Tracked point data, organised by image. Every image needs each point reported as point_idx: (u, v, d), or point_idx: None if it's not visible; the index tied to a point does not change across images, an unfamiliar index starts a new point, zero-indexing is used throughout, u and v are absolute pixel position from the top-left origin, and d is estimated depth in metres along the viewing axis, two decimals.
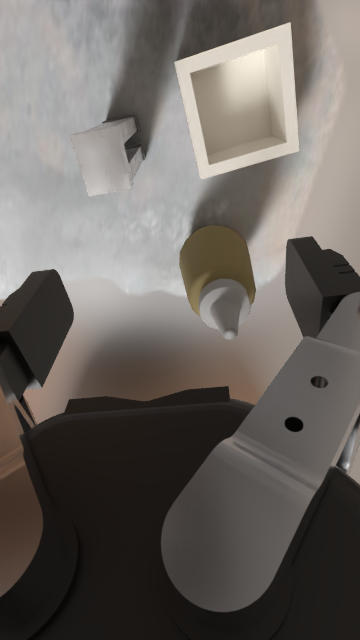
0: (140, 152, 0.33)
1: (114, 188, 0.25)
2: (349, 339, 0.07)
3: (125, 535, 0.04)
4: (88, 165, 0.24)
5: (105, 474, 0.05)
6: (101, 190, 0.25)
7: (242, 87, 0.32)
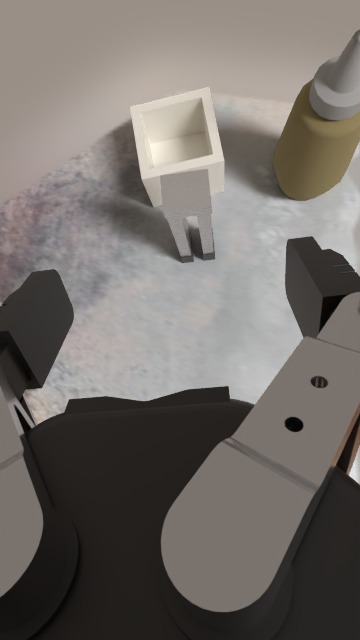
0: None
1: (206, 182, 0.28)
2: (349, 339, 0.07)
3: (126, 535, 0.04)
4: (186, 200, 0.28)
5: (105, 475, 0.05)
6: (206, 193, 0.28)
7: (170, 156, 0.43)
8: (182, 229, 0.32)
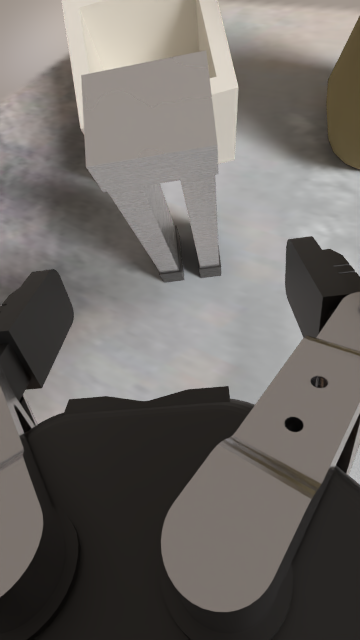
0: None
1: (203, 86, 0.10)
2: (349, 339, 0.07)
3: (126, 535, 0.04)
4: (148, 136, 0.10)
5: (105, 475, 0.05)
6: (203, 115, 0.10)
7: None
8: (151, 220, 0.14)
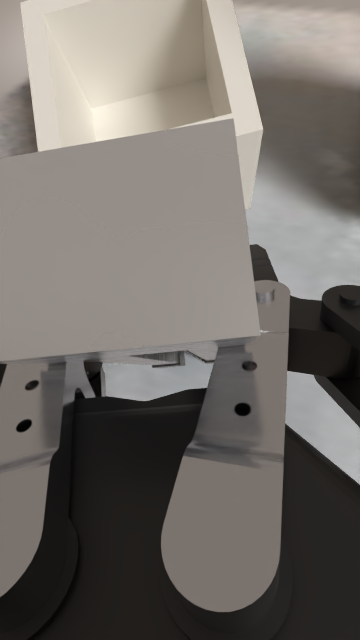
0: None
1: (228, 197, 0.05)
2: None
3: (126, 535, 0.04)
4: (111, 303, 0.05)
5: (105, 474, 0.05)
6: (230, 263, 0.05)
7: (133, 132, 0.20)
8: (133, 358, 0.09)
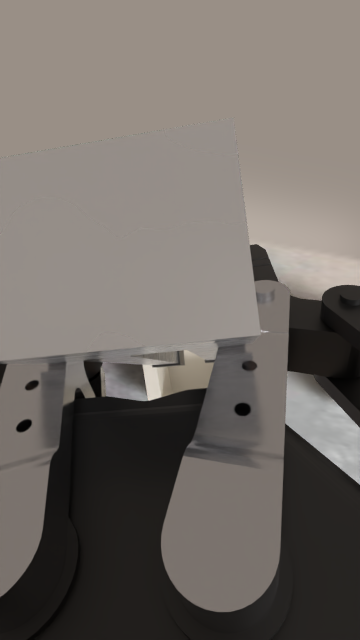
0: None
1: (228, 197, 0.05)
2: None
3: (126, 535, 0.04)
4: (111, 302, 0.05)
5: (105, 474, 0.05)
6: (230, 262, 0.05)
7: None
8: (133, 358, 0.09)
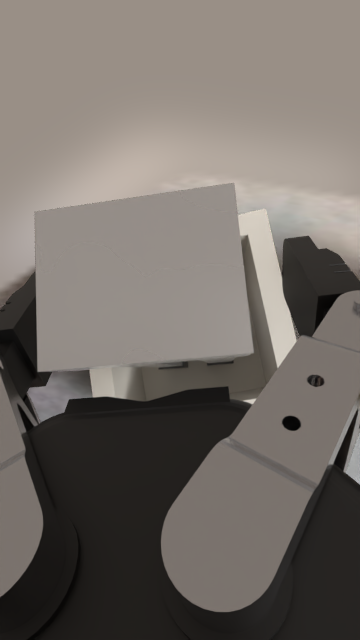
0: None
1: (229, 245, 0.06)
2: (343, 337, 0.07)
3: (125, 536, 0.04)
4: (139, 325, 0.06)
5: (105, 475, 0.05)
6: (231, 297, 0.06)
7: None
8: None
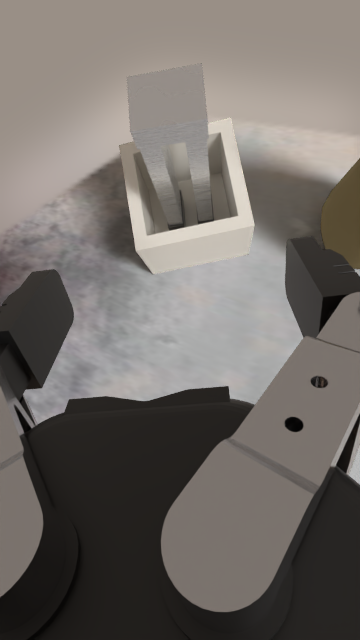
0: None
1: (199, 84, 0.17)
2: (349, 339, 0.07)
3: (126, 535, 0.04)
4: (167, 113, 0.17)
5: (105, 474, 0.05)
6: (200, 101, 0.17)
7: None
8: (165, 173, 0.22)
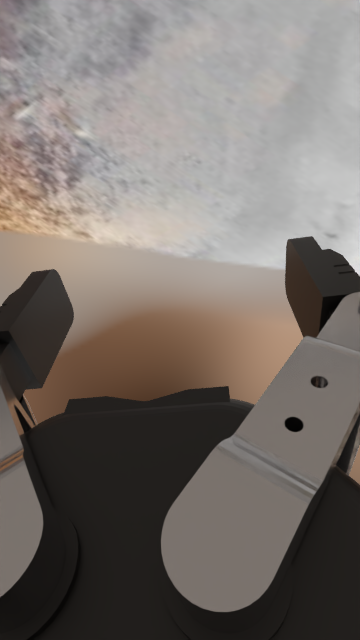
0: None
1: None
2: (349, 339, 0.07)
3: (126, 535, 0.04)
4: None
5: (105, 474, 0.05)
6: None
7: None
8: None
